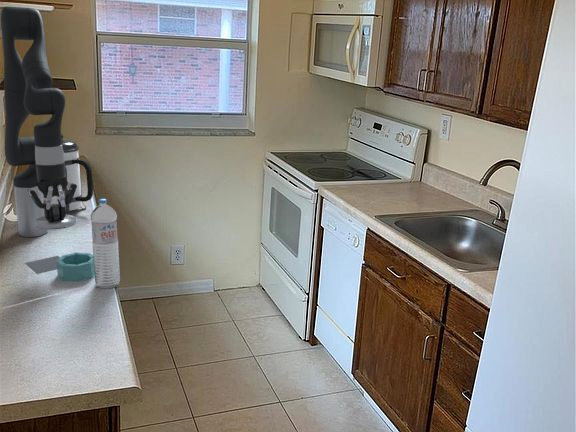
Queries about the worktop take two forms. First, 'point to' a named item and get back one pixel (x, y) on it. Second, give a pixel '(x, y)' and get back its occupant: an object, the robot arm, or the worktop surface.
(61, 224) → the lid
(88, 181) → the coffee press
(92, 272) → the bowl
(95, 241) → the water bottle
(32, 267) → the mat
